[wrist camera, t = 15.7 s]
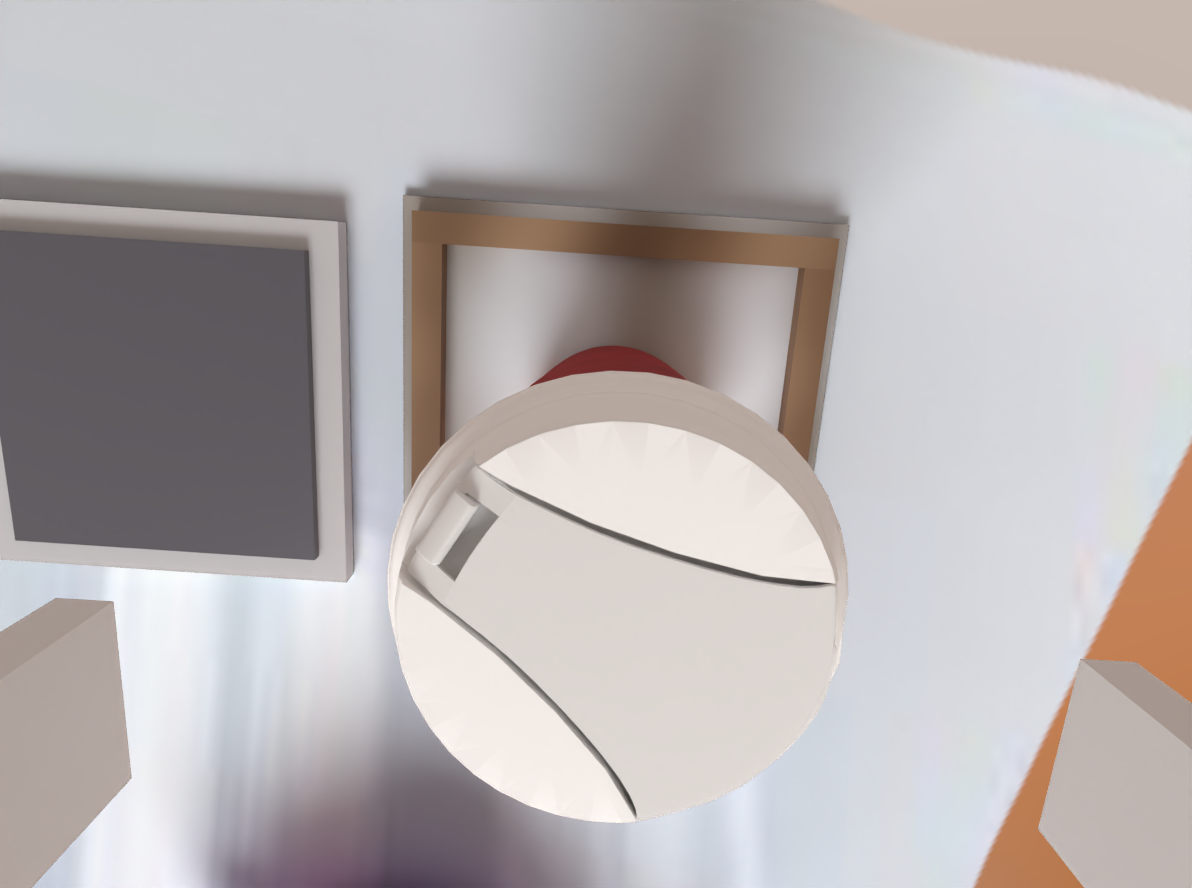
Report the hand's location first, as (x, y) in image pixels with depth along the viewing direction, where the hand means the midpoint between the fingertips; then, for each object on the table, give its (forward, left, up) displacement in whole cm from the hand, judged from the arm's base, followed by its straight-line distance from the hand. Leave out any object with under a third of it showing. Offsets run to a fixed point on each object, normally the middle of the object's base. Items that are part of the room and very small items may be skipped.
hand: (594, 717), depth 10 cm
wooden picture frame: (0, 0, -17) cm, 17 cm away
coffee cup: (0, 0, -17) cm, 17 cm away
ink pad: (-16, 0, -17) cm, 23 cm away
